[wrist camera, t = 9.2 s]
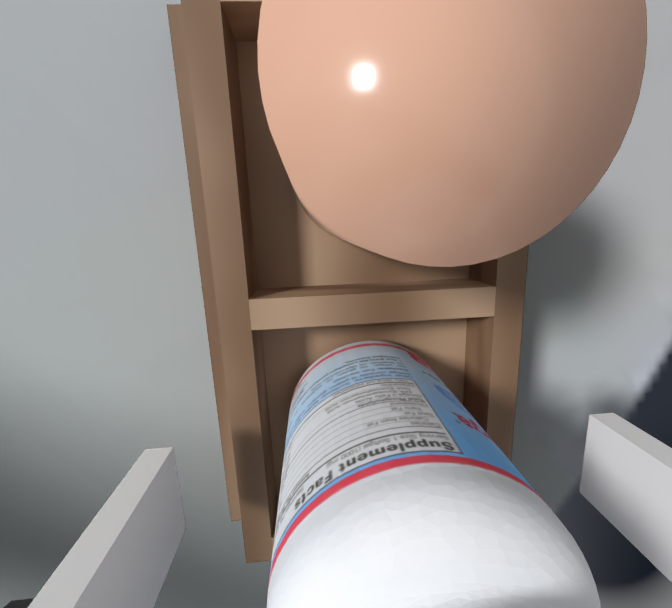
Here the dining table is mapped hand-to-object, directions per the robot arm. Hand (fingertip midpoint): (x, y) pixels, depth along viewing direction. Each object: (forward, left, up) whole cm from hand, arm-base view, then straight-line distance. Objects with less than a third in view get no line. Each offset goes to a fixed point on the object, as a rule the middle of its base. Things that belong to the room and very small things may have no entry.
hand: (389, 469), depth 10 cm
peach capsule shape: (0, +9, -4) cm, 10 cm away
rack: (0, +4, -5) cm, 7 cm away
